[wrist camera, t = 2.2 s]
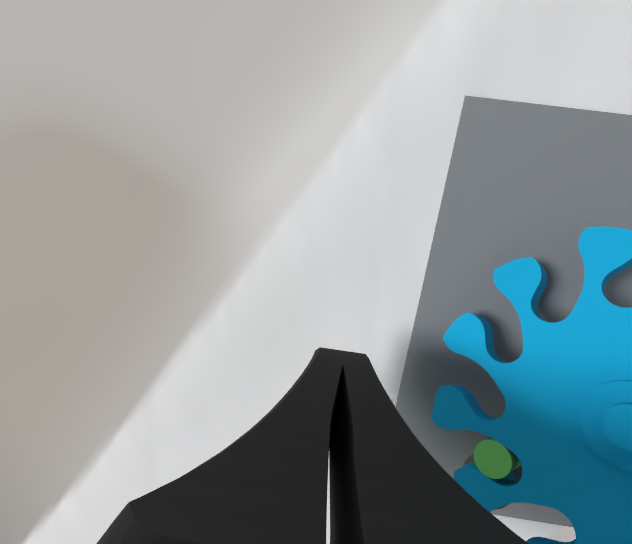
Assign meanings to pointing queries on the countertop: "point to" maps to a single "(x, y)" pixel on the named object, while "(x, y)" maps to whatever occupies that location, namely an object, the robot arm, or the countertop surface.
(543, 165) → the mat
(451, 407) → the gear
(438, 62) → the countertop surface
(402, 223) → the countertop surface
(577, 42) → the countertop surface
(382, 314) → the countertop surface
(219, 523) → the robot arm
